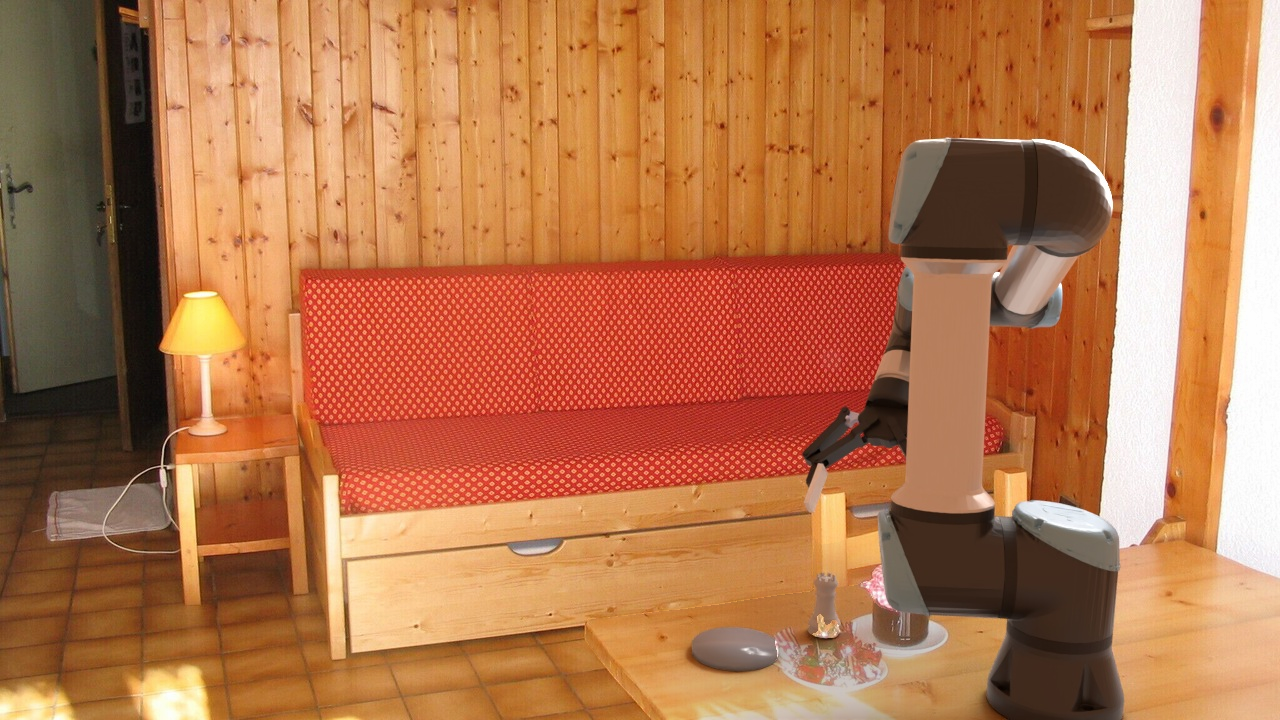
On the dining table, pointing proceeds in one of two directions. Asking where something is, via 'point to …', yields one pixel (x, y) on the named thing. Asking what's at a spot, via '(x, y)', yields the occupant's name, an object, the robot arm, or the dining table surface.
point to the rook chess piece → (824, 601)
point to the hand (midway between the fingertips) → (854, 516)
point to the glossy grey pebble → (734, 649)
